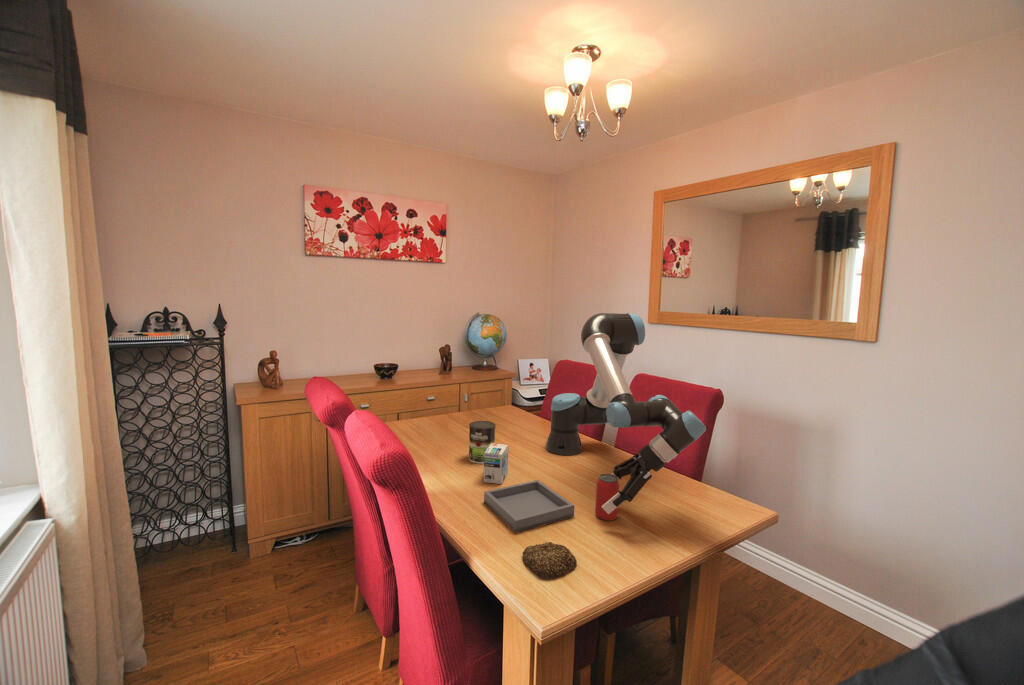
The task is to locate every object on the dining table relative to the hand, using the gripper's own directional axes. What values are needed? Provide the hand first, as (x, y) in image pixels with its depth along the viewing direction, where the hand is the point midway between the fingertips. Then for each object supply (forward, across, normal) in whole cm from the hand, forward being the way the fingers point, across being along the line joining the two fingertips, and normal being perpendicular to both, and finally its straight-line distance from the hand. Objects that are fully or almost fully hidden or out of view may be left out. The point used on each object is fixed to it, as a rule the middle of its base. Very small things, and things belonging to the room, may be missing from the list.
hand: (602, 499), depth 133 cm
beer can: (+3, 0, -5) cm, 6 cm away
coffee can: (+34, +39, +26) cm, 58 cm away
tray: (+19, +1, +12) cm, 23 cm away
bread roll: (+15, -25, +7) cm, 30 cm away
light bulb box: (+28, +23, +21) cm, 42 cm away
